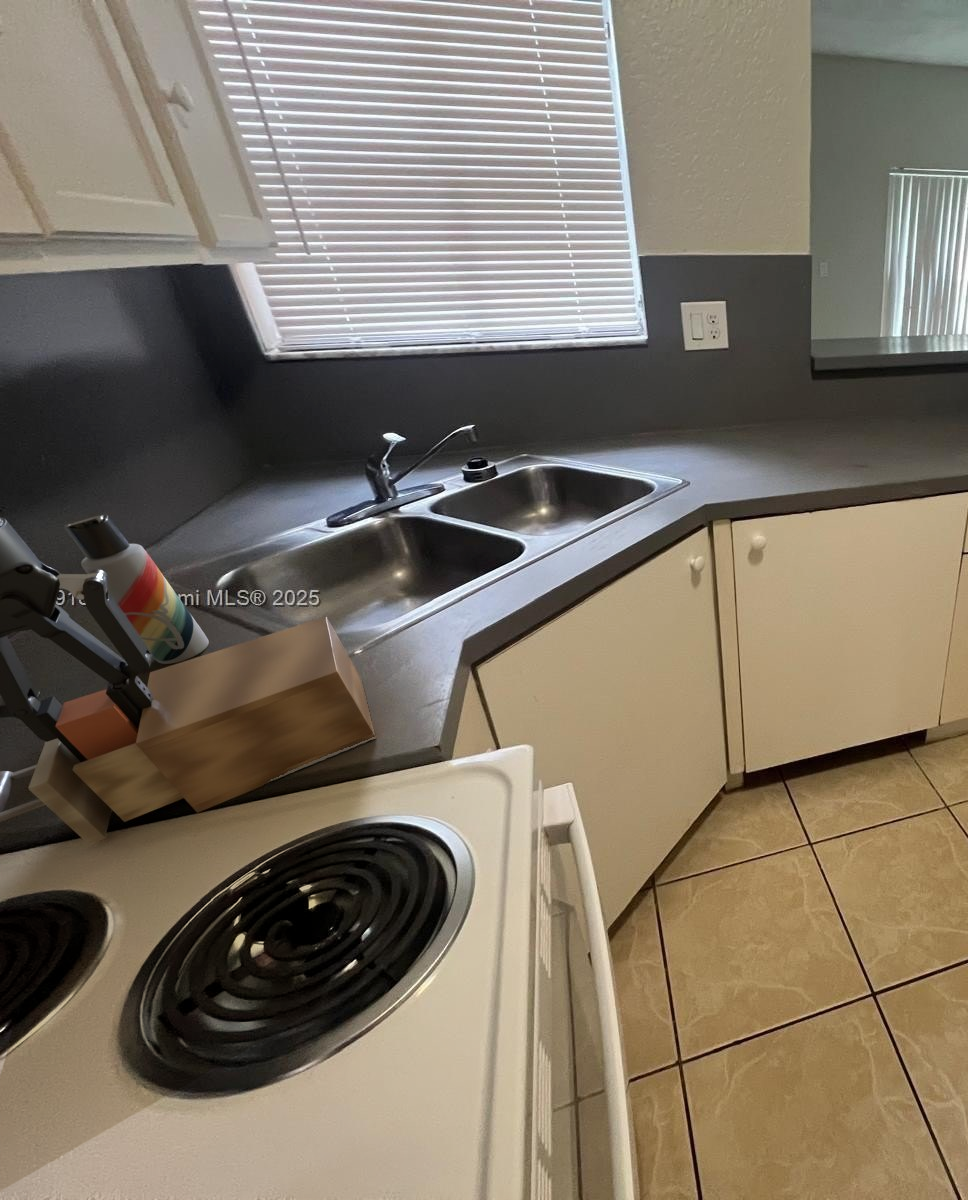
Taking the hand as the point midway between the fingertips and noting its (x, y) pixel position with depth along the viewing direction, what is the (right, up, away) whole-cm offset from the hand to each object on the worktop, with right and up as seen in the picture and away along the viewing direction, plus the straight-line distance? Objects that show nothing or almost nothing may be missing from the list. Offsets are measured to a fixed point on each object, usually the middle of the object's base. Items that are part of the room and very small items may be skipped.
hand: (124, 744), depth 61 cm
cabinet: (+9, -1, +9) cm, 13 cm away
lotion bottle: (-17, +7, +24) cm, 30 cm away
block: (0, 0, 0) cm, 0 cm away
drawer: (0, -5, +3) cm, 6 cm away
